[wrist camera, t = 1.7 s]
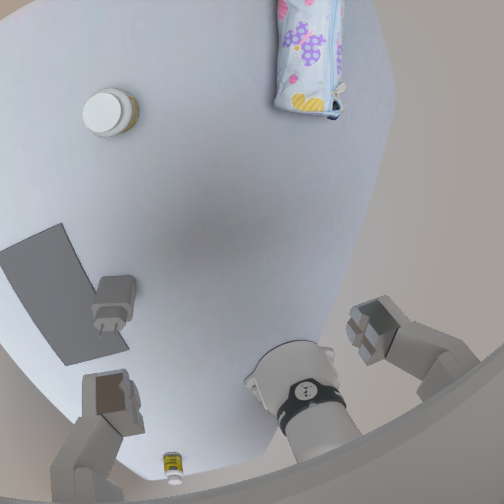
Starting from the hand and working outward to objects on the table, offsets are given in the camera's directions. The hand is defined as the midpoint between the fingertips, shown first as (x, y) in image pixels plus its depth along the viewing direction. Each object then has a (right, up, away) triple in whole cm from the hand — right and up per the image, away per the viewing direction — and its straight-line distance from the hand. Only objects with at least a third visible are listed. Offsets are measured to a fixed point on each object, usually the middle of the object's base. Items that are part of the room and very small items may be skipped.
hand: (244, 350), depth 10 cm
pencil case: (+6, +31, +25) cm, 41 cm away
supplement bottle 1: (-17, +21, +24) cm, 36 cm away
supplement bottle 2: (-20, -49, +57) cm, 78 cm away
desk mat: (-30, -5, +33) cm, 45 cm away
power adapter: (-20, -2, +34) cm, 39 cm away
